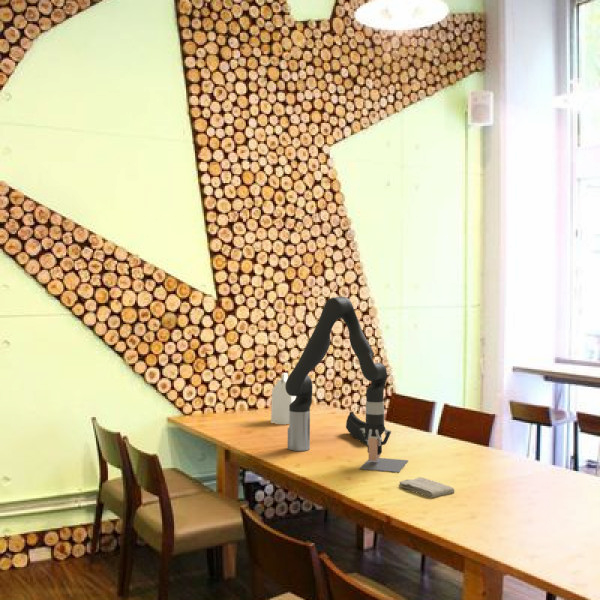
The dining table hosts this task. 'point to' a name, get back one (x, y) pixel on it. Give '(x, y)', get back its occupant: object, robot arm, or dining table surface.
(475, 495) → the dining table surface
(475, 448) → the dining table surface
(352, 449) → the dining table surface
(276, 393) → the milk
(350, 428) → the magazine
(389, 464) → the mat
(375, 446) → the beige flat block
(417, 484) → the washcloth
